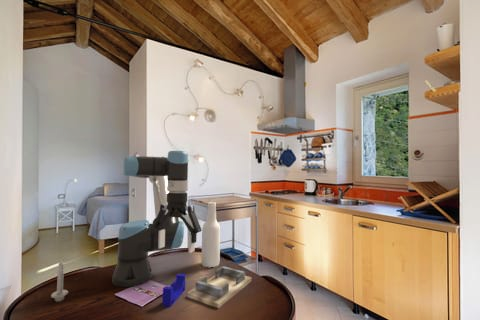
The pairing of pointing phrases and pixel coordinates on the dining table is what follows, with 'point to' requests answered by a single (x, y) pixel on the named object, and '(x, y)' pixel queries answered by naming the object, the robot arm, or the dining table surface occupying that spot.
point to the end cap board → (219, 286)
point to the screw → (60, 285)
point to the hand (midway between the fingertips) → (176, 249)
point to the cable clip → (174, 290)
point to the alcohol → (211, 239)
